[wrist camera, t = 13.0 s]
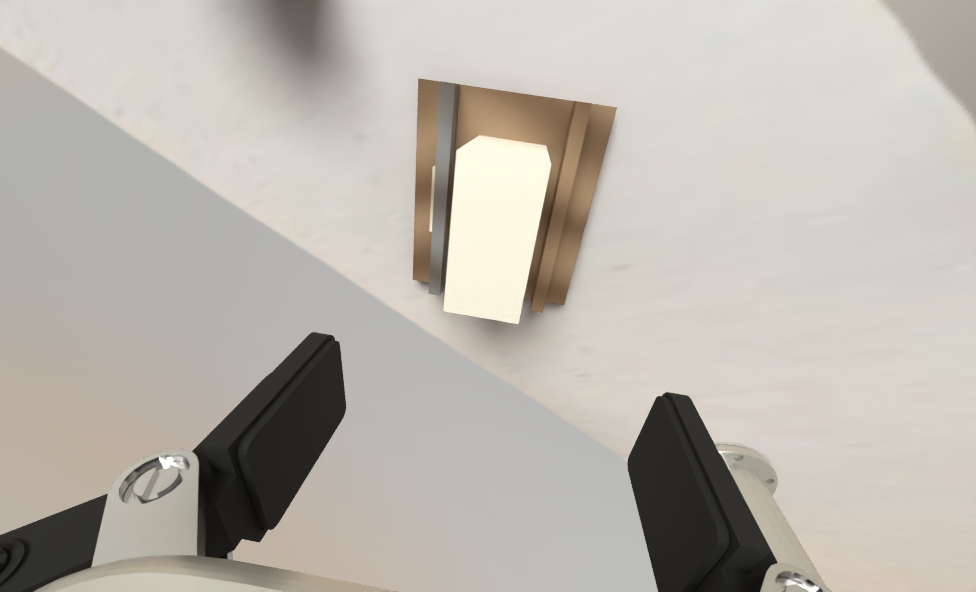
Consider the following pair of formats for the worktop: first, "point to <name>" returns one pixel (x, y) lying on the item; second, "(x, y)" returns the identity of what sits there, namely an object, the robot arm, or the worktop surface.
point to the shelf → (520, 117)
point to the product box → (494, 226)
